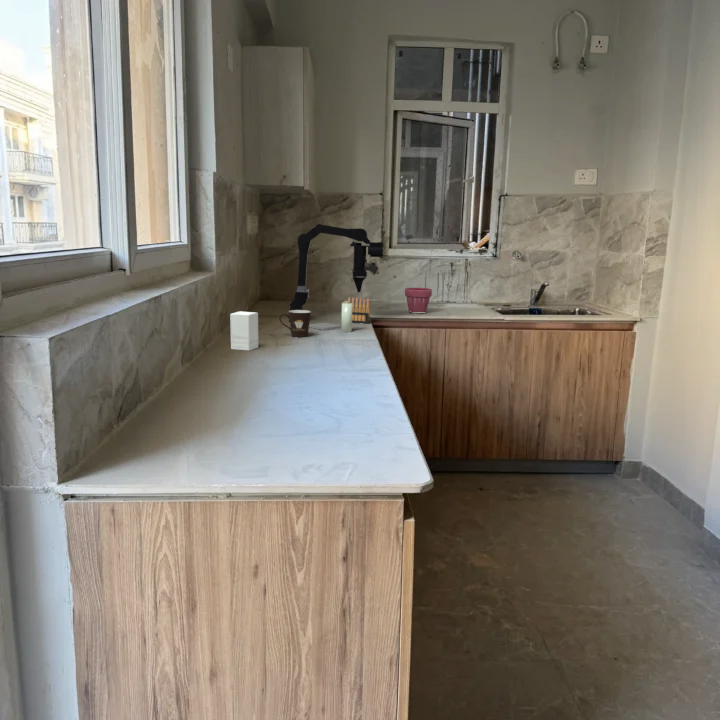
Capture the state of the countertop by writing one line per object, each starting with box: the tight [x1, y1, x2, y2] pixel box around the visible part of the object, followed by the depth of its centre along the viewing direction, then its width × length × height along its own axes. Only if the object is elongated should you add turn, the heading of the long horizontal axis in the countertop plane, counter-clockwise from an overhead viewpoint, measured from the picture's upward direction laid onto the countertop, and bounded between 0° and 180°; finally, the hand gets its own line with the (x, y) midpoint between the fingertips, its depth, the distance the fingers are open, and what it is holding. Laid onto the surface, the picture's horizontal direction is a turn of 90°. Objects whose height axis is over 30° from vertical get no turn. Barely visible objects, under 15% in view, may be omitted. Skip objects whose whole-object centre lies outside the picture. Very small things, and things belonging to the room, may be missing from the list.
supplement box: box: [229, 310, 259, 351], centre depth 215 cm, size 7×7×13 cm
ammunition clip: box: [347, 296, 371, 325], centre depth 283 cm, size 11×2×12 cm, turn 78°
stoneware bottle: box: [340, 300, 353, 333], centre depth 258 cm, size 4×4×13 cm
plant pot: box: [404, 287, 433, 313], centre depth 326 cm, size 14×14×13 cm
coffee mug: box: [278, 309, 312, 339], centre depth 243 cm, size 12×9×10 cm
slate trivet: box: [309, 322, 341, 331], centre depth 267 cm, size 11×11×1 cm
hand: (358, 291), depth 281 cm, fingers open, 9 cm apart
